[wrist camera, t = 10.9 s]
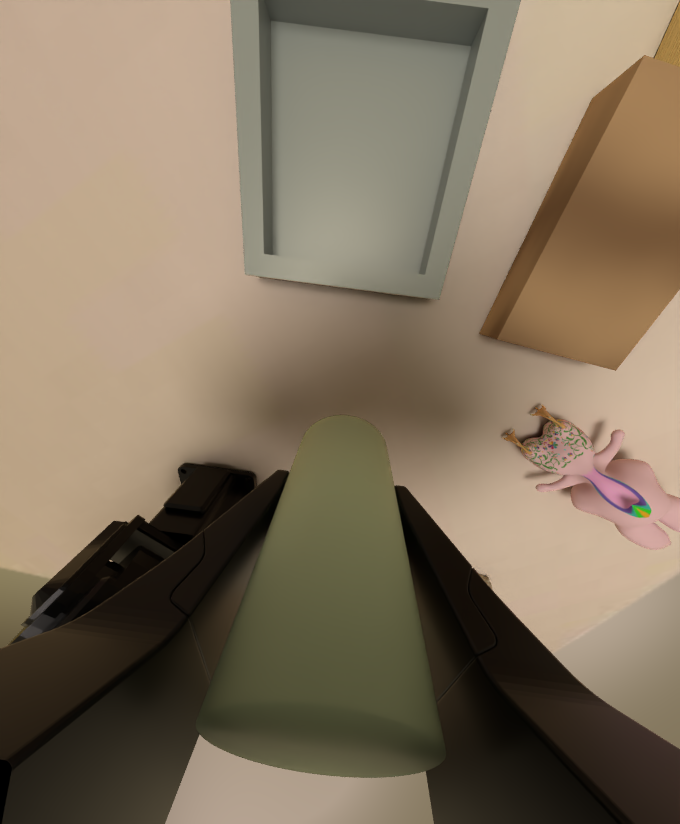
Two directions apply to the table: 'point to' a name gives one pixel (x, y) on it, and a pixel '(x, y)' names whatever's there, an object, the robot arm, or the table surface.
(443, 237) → the tray
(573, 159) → the brown flat block
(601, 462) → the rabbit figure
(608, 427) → the table surface
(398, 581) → the pale green rounded cylinder
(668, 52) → the wooden block
